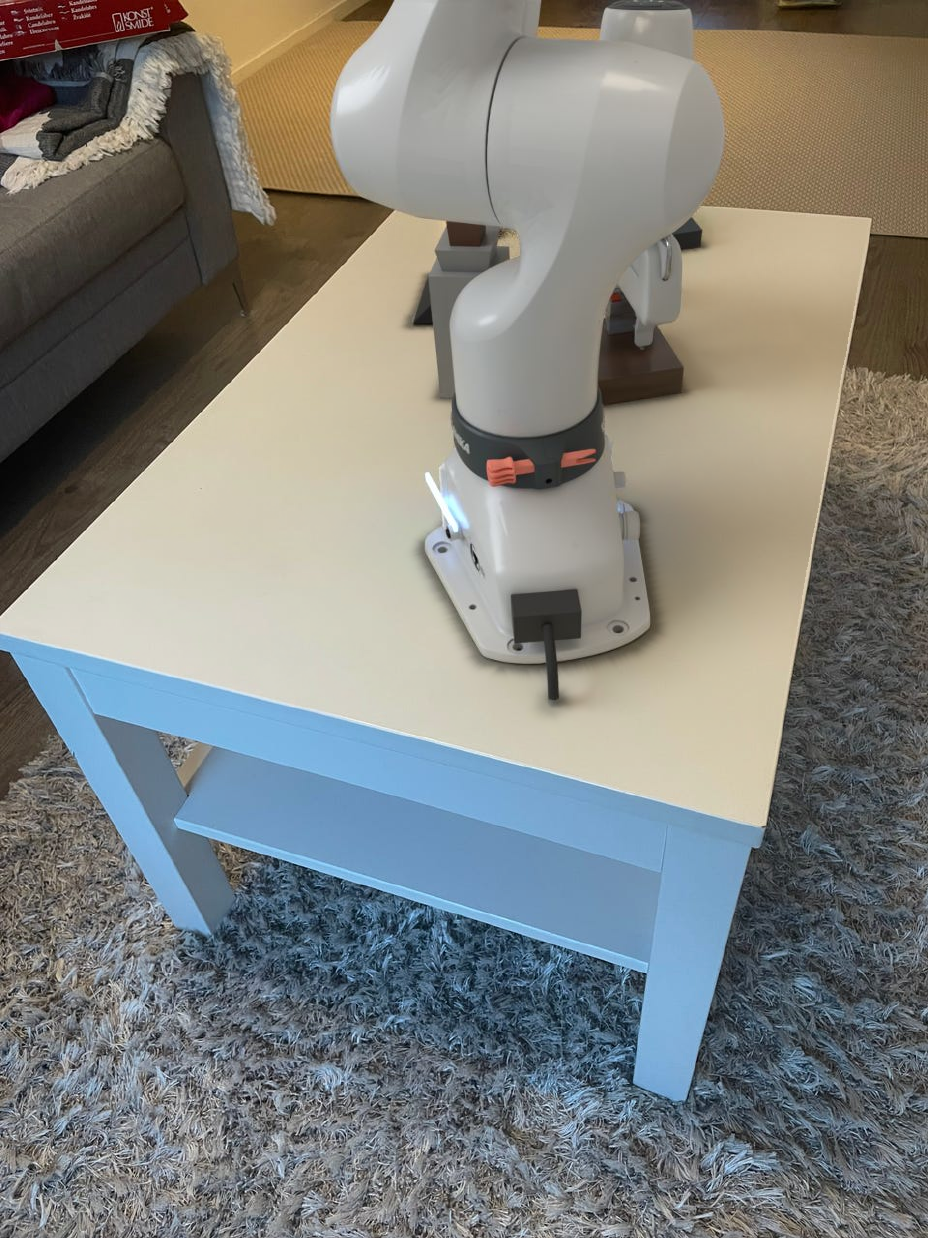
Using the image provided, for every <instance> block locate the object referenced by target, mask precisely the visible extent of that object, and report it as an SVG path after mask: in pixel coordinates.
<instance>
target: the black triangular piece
mask: <svg viewBox="0 0 928 1238" xmlns="http://www.w3.org/2000/svg"><path fill="white" fill-rule="evenodd" d="M436 259H437V257H436V258H435V260H436ZM428 276H429V273H428V275H427V277H426V281H425V284H424V286H423V290H422V294H421V296H420V300H419V302H418V304H417V305H418V306H417V309H416V312H415V314H414V315H413V317H412V320H411V324H412V326H414V327H423V326H424V327H426V326H427V327H430V326H431V327H433V319H432V309H431V299H430V290H429V280H428Z"/></svg>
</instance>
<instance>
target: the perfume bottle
mask: <svg viewBox="0 0 928 1238" xmlns="http://www.w3.org/2000/svg"><path fill="white" fill-rule="evenodd" d="M445 224H446V226H445V227H444V230H443V232H442V234H441V236H440V238H439V240H438V242H437V244H436V246H435V247H434V254H435V256H436V258H437V259H436V258H435V261H434V262H433V265H432V268H431V269H430V272H429V273H428V274H429V276H428V275H427V277H428V280H429V290H430V299H431V309H432V319H433V326H432V327H433V337H434V347H435V359H436V367H437V375H438V377H437V378H438V386H439V387H438V389H439V397H440V399H441V398H442V399H443V398H444V399H452V398H453V395H454V393H455V382H454V370H453V359H452V348H451V337H450V318H451V314H452V310H453V307H454V304H455V302H456V300H457V297H458V296H459V294H460V293H461V291H462V290H463V288H464V287H465V286H466V285H467V284H468V283H469V282H470V281H471V280H473V279H474V278H475V277H476V276H478V275H479V274H481V273H482V272H484V271H486V270H488V269H489V268H491V267H493V266H495V265H497V264H500V263H502V262H504V261H507V260H510V259H511V254H510V246H509V245H508V246H507V245H498V243H499V238H500V231H501V227H486V225H478V224H469V223H460V222H451V221H445Z"/></svg>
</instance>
